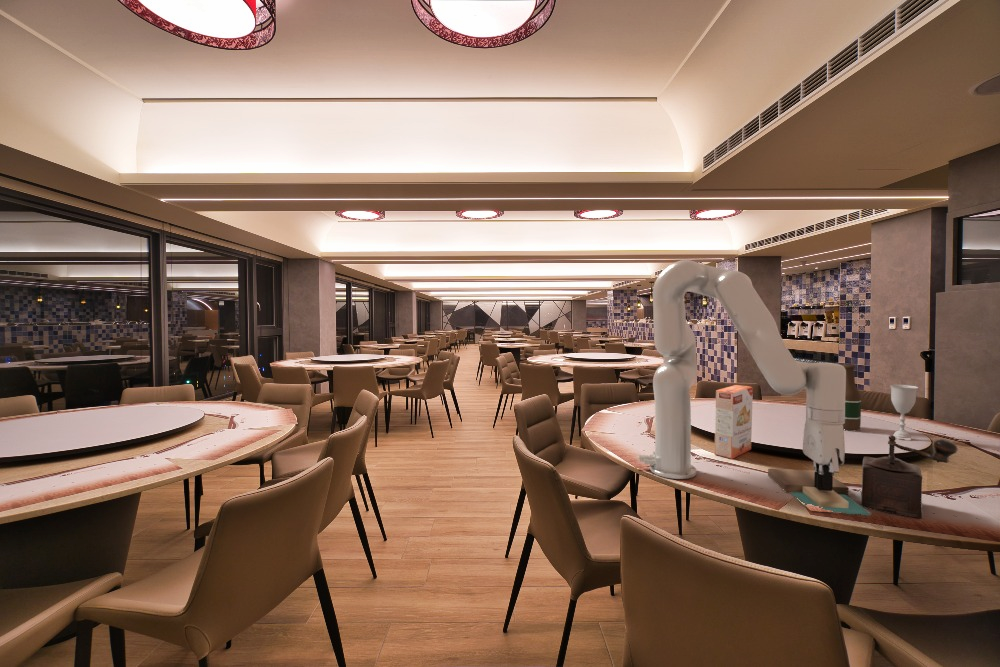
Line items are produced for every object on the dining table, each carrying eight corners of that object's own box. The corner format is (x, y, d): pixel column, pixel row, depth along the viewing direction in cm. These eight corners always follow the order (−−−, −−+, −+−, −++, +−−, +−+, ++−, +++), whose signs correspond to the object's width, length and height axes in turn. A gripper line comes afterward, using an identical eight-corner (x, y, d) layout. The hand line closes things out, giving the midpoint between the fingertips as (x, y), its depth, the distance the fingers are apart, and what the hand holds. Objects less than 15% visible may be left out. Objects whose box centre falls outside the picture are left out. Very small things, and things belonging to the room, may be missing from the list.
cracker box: (733, 460, 135) (734, 392, 133) (713, 455, 139) (714, 389, 138) (753, 449, 143) (753, 386, 142) (733, 445, 148) (734, 383, 147)
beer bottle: (858, 427, 166) (860, 363, 164) (862, 432, 159) (864, 366, 158) (832, 424, 170) (834, 362, 168) (835, 429, 163) (836, 365, 162)
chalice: (892, 440, 150) (894, 387, 149) (884, 434, 156) (885, 384, 155) (920, 442, 147) (922, 388, 146) (910, 436, 153) (912, 385, 152)
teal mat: (810, 511, 101) (810, 510, 101) (790, 493, 111) (790, 491, 111) (870, 515, 99) (870, 513, 99) (845, 496, 109) (845, 494, 108)
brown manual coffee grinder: (860, 507, 102) (862, 431, 101) (861, 491, 111) (863, 421, 110) (956, 528, 92) (959, 444, 91) (948, 508, 101) (952, 431, 100)
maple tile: (819, 506, 103) (819, 500, 102) (802, 492, 110) (802, 486, 110) (848, 508, 101) (848, 501, 101) (829, 493, 109) (829, 487, 109)
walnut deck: (785, 492, 111) (785, 484, 111) (768, 475, 122) (768, 468, 122) (848, 495, 109) (848, 487, 109) (824, 478, 120) (824, 471, 119)
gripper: (793, 407, 114) (791, 476, 115) (824, 422, 99) (822, 502, 100) (825, 407, 112) (824, 478, 114) (861, 423, 98) (859, 504, 99)
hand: (823, 489), depth 107 cm, fingers closed
